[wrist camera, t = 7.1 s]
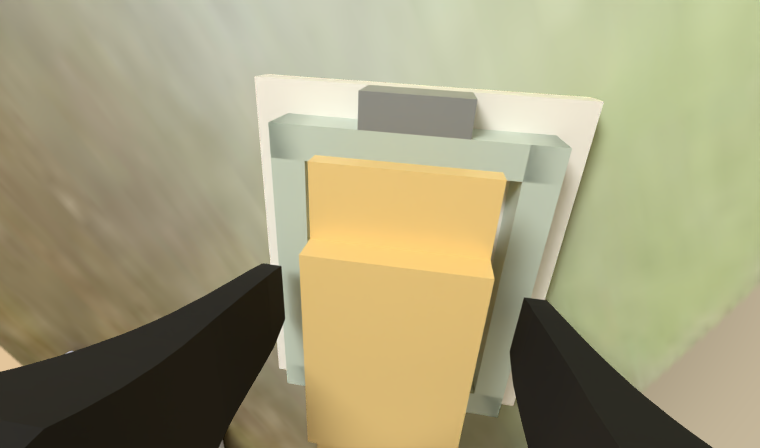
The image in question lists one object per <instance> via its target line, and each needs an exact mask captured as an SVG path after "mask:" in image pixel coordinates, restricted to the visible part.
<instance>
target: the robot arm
mask: <svg viewBox="0 0 760 448" xmlns="http://www.w3.org/2000/svg"><path fill="white" fill-rule="evenodd" d="M284 321H285V307H284V293H283V279H282V266H278V265H270V264H261V265H259V266H257V267H255V268H253V269H251V270H249V271H247V272H246V273H244V274H242V275H241V276H239V277H237V278H235V279H234V280H232V281H230V282H228V283H227V284H225V285H223V286H221V287H220V288H218V289H216V290H214V291H213V292H211V293H209V294H207V295H205V296H204V297H202V298H200V299H198V300H196V301H194V302H192V303H190V304H188V305H186V306H184V307H182V308H180V309H179V310H177V311H175V312H173V313H171V314H169V315H166V316H164V317H162V318H160V319H158V320H156V321H153V322H151V323H149V324H146V325H144V326H142V327H139V328H137V329H135V330H132V331H130V332H127V333H125V334H122V335H119V336H116V337H114V338H111V339H108V340H105V341H102V342H100V343H97V344H94V345H91V346H89V347H86V348H83V349H80V350H77V351H69V352H67V353H66V354H64V355H61V356H57V357H54V358H51V359H47V360H44V361H40V362H36V363H33V364H29V365H26V366H22V367H18V368H15V369H10V370H6V371H2V372H0V448H224V444H223V437H224V435H225V433H226V431H227V429H228V427H229V425H230V423H231V421H232V419H233V417H234V415H235V414H236V412H237V410H238V408H239V407H240V405H241V403H242V401H243V400H244V398H245V396H246V395H247V393H248V391H249V389H250V388H251V386H252V384H253V383H254V381H255V379H256V377H257V376H258V374H259V372H260V371H261V369H262V367H263V365H264V364H265V362H266V360H267V358H268V357H269V355H270V353H271V351H272V350H273V348H274V345H275V343H276V341H277V338H278V336H279V334H280V331H281V329H282V326H283V324H284ZM510 362H511V372H512V380H513V387H514V391H515V396H516V400H517V404H518V408H519V412H520V416H521V421H522V425H523V429H524V433H525V437H526V441H527V445H528V448H712V447H711V446H710V445H708V444H707V443H705V442H704V441H703V440H701V439H700V438H698V437H697V436H696V435H694V434H693V433H691V432H690V431H689V430H687V429H686V428H684V427H683V426H682V425H681V424H679V423H678V422H677V421H675V420H674V419H673V418H671V417H670V416H669V415H668V414H666V413H665V412H664V411H662V410H661V409H660V408H659V407H658V406H656V405H655V404H654V403H653V402H651V401H650V400H649V399H648V398H646V397H645V396H644V395H643V394H642V393H641V392H639V391H638V390H637V389H636V388H635V387H634V386H632V385H631V384H630V383H629V382H628V381H627V380H626V379H625V378H624V377H622V376H621V375H620V374H619V373H618V372H617V371H616V370H615V369H614V368H613V367H611V366H610V365H609V364H608V363H607V362H606V361H605V360H604V359H603V358H602V357H601V356H600V355H599V354H598V353H597V352H596V351H595V350H594V349H593V348H592V347H591V346H590V345H589V344H588V343H587V342H586V341H585V340H584V339H583V338H582V337H581V336H580V335H579V334H578V333H577V332H576V331H575V330H574V329H573V327H572V326H571V325H570V324H569V323H568V322H567V321H566V320H565V319H564V318H563V317H562V316H561V315H560V314H559V313H558V312H557V311H556V309H555V308H554V307H553V306H552V305H551V304H550V303H549V302H548V301H547V300H541V299H533V298H525V297H524V299H523V303H522V307H521V310H520V314H519V318H518V322H517V325H516V329H515V333H514V337H513V340H512V344H511V348H510Z"/></svg>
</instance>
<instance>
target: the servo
mask: <svg viewBox="0 0 760 448" xmlns="http://www.w3.org/2000/svg"><path fill="white" fill-rule="evenodd" d="M506 182H507V179H506V177H505V175H504V173H503V172H493V171H482V170H472V169H461V168H450V167H439V166H429V165H418V164H407V163H396V162H385V161H375V160H364V159H353V158H342V157H332V156H321V155H314V156H313V157H312V158H311V159H310V160H309V161H308V189H309V219H310V239H309V241H308V242H307V244H306V245H305V247H304V248H303V250H302V251H301V253H300V254H299V267H300V288H301V308H302V329H303V349H304V370H305V390H306V411H307V431H308V442H313V443H317V448H458V445H459V440H460V436H461V431H462V427H463V422H464V418H465V413H466V408H467V404H468V399H469V395H470V390H471V385H472V381H473V376H474V372H475V367H476V362H477V358H478V353H479V349H480V344H481V340H482V335H483V330H484V326H485V321H486V317H487V312H488V307H489V303H490V298H491V294H492V289H493V284H494V280H495V279H494V274H493V269H492V265H491V255H492V250H493V245H494V240H495V235H496V231H497V226H498V221H499V216H500V211H501V206H502V202H503V197H504V192H505V187H506Z"/></svg>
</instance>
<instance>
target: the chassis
mask: <svg viewBox="0 0 760 448" xmlns="http://www.w3.org/2000/svg"><path fill="white" fill-rule="evenodd" d="M255 89H256V101H257V112H258V124H259V136H260V147H261V159H262V171H263V182H264V194H265V206H266V218H267V229H268V241H269V253H270V264H271V265H278V266H282V279H283V293H284V307H285V321H284V324H283V326H282V329H281V331H280V334H279V336H278V338H277V346H278V358H279V368H280V369H286V370H287V382H288V383H291V384H297V385H303V386H305V370H304V349H303V329H302V308H301V288H300V267H299V254H300V253H301V251H302V250H303V248H304V247H305V245H306V244H307V242H308V241H309V239H310V219H309V189H308V161H309V160H310V159H311V158H312V157H313V156H314V155H321V156H332V157H342V158H353V159H364V160H375V161H385V162H396V163H407V164H418V165H429V166H439V167H450V168H461V169H472V170H482V171H493V172H503V173H504V175H505V177H506V179H507V182H506V187H505V192H504V197H503V202H502V206H501V211H500V216H499V221H498V226H497V231H496V235H495V240H494V245H493V250H492V255H491V265H492V269H493V274H494V279H495V280H494V284H493V289H492V294H491V298H490V303H489V307H488V312H487V317H486V321H485V326H484V330H483V335H482V340H481V344H480V349H479V353H478V358H477V362H476V367H475V372H474V376H473V381H472V385H471V390H470V395H469V399H468V404H467V408H466V412H467V413H473V414H479V415H485V416H491V417H497V418H498V414H499V411H500V407H501V404H504V405H510V406H513V405H514V402H515V399H516V396H515V391H514V387H513V380H512V372H511V362H510V348H511V344H512V340H513V337H514V333H515V329H516V325H517V322H518V318H519V314H520V310H521V307H522V303H523V299H524V297H525V298H533V299H541V300H545V298H546V295H547V291H548V288H549V284H550V281H551V278H552V274H553V271H554V268H555V264H556V261H557V258H558V254H559V251H560V248H561V244H562V241H563V237H564V234H565V231H566V227H567V224H568V221H569V217H570V214H571V211H572V207H573V204H574V200H575V197H576V194H577V190H578V187H579V184H580V180H581V177H582V174H583V170H584V167H585V164H586V160H587V157H588V153H589V150H590V147H591V143H592V140H593V137H594V133H595V130H596V127H597V123H598V120H599V117H600V113H601V110H602V106H603V103H604V102H603V101H600V100H598V99H595V98H592V97H583V96H569V95H555V94H541V93H527V92H513V91H499V90H485V89H470V88H456V87H442V86H428V85H414V84H400V83H386V82H372V81H358V80H344V79H330V78H316V77H302V76H288V75H274V74H266V75H260V76H255Z"/></svg>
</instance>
